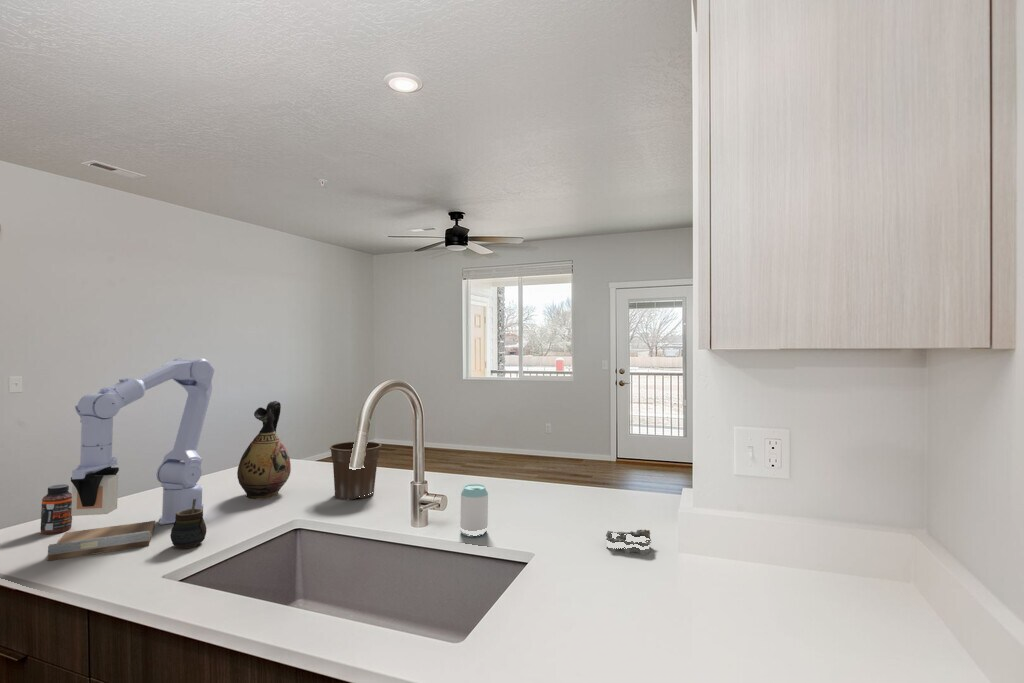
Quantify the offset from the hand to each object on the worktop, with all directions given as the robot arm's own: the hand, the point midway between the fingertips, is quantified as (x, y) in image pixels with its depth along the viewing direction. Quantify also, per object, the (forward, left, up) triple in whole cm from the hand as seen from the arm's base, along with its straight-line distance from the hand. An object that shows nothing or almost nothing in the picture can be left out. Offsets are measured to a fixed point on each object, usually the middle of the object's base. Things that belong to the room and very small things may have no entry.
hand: (94, 502), depth 118 cm
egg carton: (-110, +61, -11) cm, 127 cm away
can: (-82, +34, -11) cm, 89 cm away
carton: (0, 0, -2) cm, 2 cm away
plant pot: (-64, -16, -11) cm, 67 cm away
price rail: (-2, +4, -9) cm, 10 cm away
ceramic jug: (-39, -30, -11) cm, 50 cm away
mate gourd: (-19, +8, -11) cm, 23 cm away
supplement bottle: (+10, -19, -11) cm, 24 cm away
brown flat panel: (-2, -4, -10) cm, 11 cm away
